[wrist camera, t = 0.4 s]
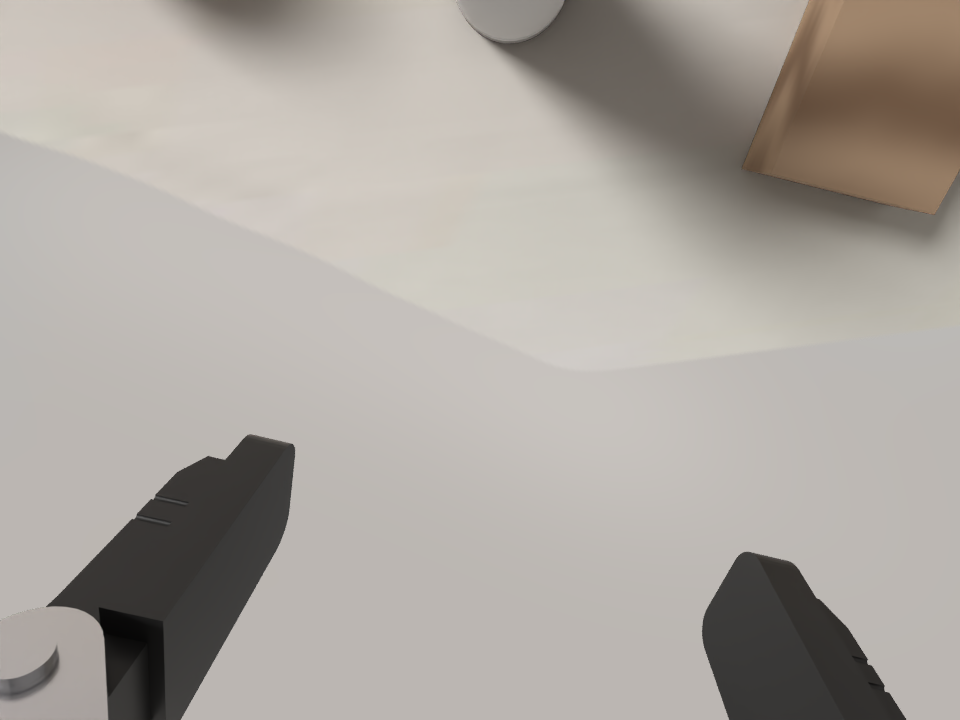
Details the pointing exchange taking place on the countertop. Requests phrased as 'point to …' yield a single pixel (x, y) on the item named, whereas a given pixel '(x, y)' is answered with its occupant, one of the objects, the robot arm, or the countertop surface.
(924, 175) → the walnut plinth
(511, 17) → the travel mug
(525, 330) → the countertop surface
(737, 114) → the countertop surface
